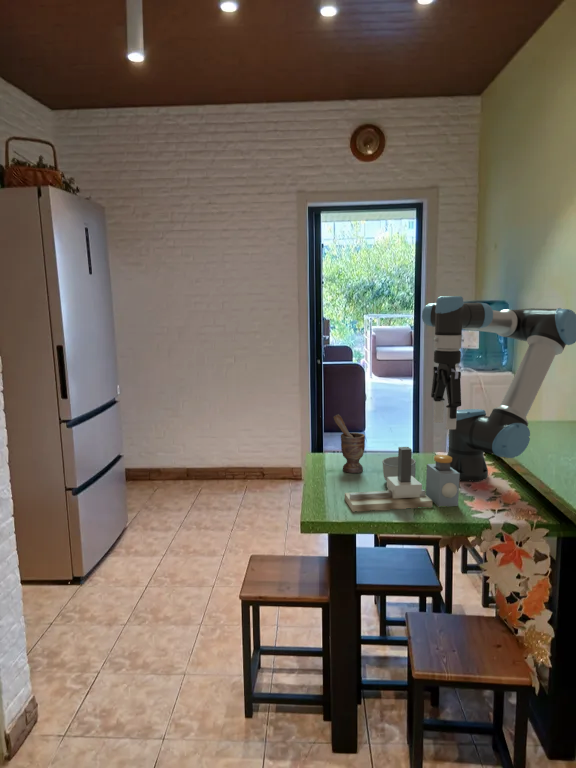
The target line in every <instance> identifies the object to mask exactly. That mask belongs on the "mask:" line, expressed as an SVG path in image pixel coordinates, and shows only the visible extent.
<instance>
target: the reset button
mask: <svg viewBox="0 0 576 768" xmlns="http://www.w3.org/2000/svg"><path fill="white" fill-rule="evenodd" d="M433 460H434V461H435V464H436V469H437V470H438V471H450V463H451V462H452V457H450V456H447V455H446V454H436V455H434V457H433Z"/></svg>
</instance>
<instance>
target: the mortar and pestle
mask: <svg viewBox="0 0 576 768" xmlns="http://www.w3.org/2000/svg"><path fill="white" fill-rule="evenodd" d="M332 418H333V420H334V422H335V424H336V426H338V428H339V429H340V431H341V432H342V433H341V434H340V449H341V453H342V456H343V458H345V460H346V463H345V464H343V466H342V471H343V472H344V473H349V474H358V473H359V474H361V473H362V472H363V471H364V469H363V468H364V467H363V465H362V464H361V463H360V460H361V459H362V457H363V456H364V453H365V447H366V444H365V443H366V436H365V434H364V433H361V432H349V430H348V428H347V426H346V423H345V421H344V420H343V418H342V416H341V415H340V414H339V413H338V414H335V415H334V416H333V417H332ZM360 472H361V473H360Z"/></svg>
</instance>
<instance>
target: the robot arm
mask: <svg viewBox="0 0 576 768" xmlns="http://www.w3.org/2000/svg"><path fill="white" fill-rule="evenodd" d="M421 319H422V322H423V324H425V325H426V326H428V327H432V328H433V327H434V338H433V342H434V349H435V350H433V362H434V363H435V364H438V366H433V378H432V384H431V385H432V387H431V394H430V395H431V396H430V397H431V398H432V400H433V401H434V405H433V423H434V424H436V423H444V409H445V407H446V417H445V418H446V421H445V422H446V423H445V429H446V430H448V449H447V450H448V451H447V456H450V457H452V462H451V463H450V467H451V468H453V469H454V470H456V471H457V472H458V473H460V476H459V482H460V481H461V482H481V481H485V480H487V479H488V476H489V470H488V467H487V462H486V459H485V455H484V452H485V453H488V454H492V455H495V456H496V457H499V458H507V459H513V458H517V457H519V456H521V455H522V454H523V453H524V452H525V451H526V449H527V448H528V447H529V443H530V441H531V438H530V436H531V430H530V428H529V427H528V426H529V422H528V420H527V416H528V414H529V411H530V410H531V408H532V405H533V404H534V401H535V400H536V397H537V395H538V393H539V391H540V389H541V386H542V384H543V382H544V380H545V379H546V376H547V374H548V371H549V369H550V368H551V365H552V363H553V362H554V359H555V356H558V355H561V354H562V353H563V351H564V349H565V348H566V346H570V345H571V346H572V345H574V344H575V343H576V312H574V311H573V310H572V309H568V308H561V307H559V308H558V307H557V308H534V307H533V308H531V307H530V308H522V309H521V308H519V309H510V308H509V309H508V308H507V309H501V310H495V309H493V308H492V306H490V305H489V304H488V303H486V302H485V303H484V302H464V298H463V296H462V295H443V296H438V297H437V298H436V302H434V303H433V302H431V303H428V304H426V305H425V306H424V307H423V309H422V313H421ZM463 330H467V331H476V332H485V333H493V334H494V333H495V334H496V335H498V336H500V337H503V338H510V339H514V340H519V341H522V342H526V343H527V344H528V346H527V347H528V348H527V349H526V352H525V353H524V355H523V358H522V360H521V362H520V364H519V366H518V368H517V369H516V372H515V375H514V377H513V378H512V380H511V383H510V385H509V386H508V389H507V391H506V393H505V395H504V397H503V399H502V401H501V403H500V405H499V406H498V407H497V406H496V407H495V408H492V411H491V413H490V414H489V416H488V415H487V413H486V410H485V409H482V408H481V409H480V408H467V409H465V408H464V409H458V407H462V389H461V379H462V377H461V376H462V371H457V369H456V365H459V364H460V363H461V359H462V358H461V357H462V351H461V349H462V344H463V343H462V340H463ZM445 391H446V395H447V405H446V406H445V397H444V395H445Z"/></svg>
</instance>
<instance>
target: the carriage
mask: <svg viewBox="0 0 576 768" xmlns="http://www.w3.org/2000/svg"><path fill="white" fill-rule="evenodd" d="M412 451H413V449H412V448H411V447H409V446H398V451H397V452H398V455H397V457H398V476H397V477H387V481H386V488H388V489H387V491H392V497H393V498H412V497H420V494H422V489H423V483H421V482H420V481H419V480H417V478H416V477H415V478H414V477H413V476H411V458H412Z"/></svg>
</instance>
